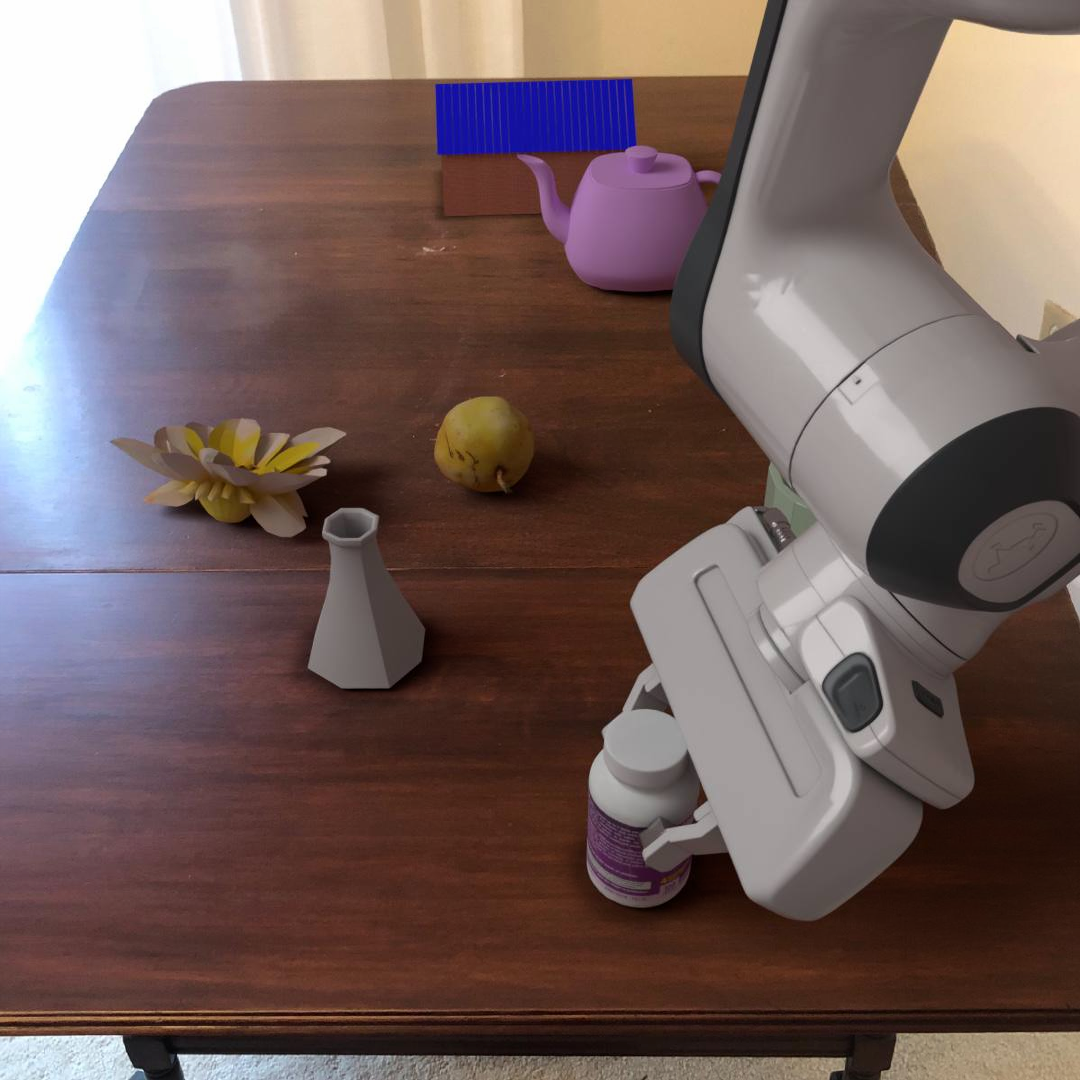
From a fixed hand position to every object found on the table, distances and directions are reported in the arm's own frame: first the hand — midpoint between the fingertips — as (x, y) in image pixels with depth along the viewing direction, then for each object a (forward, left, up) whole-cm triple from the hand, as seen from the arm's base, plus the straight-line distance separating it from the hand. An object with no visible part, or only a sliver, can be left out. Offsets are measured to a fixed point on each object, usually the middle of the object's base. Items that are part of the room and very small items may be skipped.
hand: (630, 801), depth 59 cm
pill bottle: (0, -1, -6) cm, 6 cm away
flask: (+21, +6, -6) cm, 23 cm away
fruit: (+34, -8, -6) cm, 36 cm away
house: (+80, -35, -6) cm, 88 cm away
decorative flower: (+39, +8, -6) cm, 41 cm away
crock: (+17, -26, -5) cm, 31 cm away
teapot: (+59, -34, -6) cm, 69 cm away
